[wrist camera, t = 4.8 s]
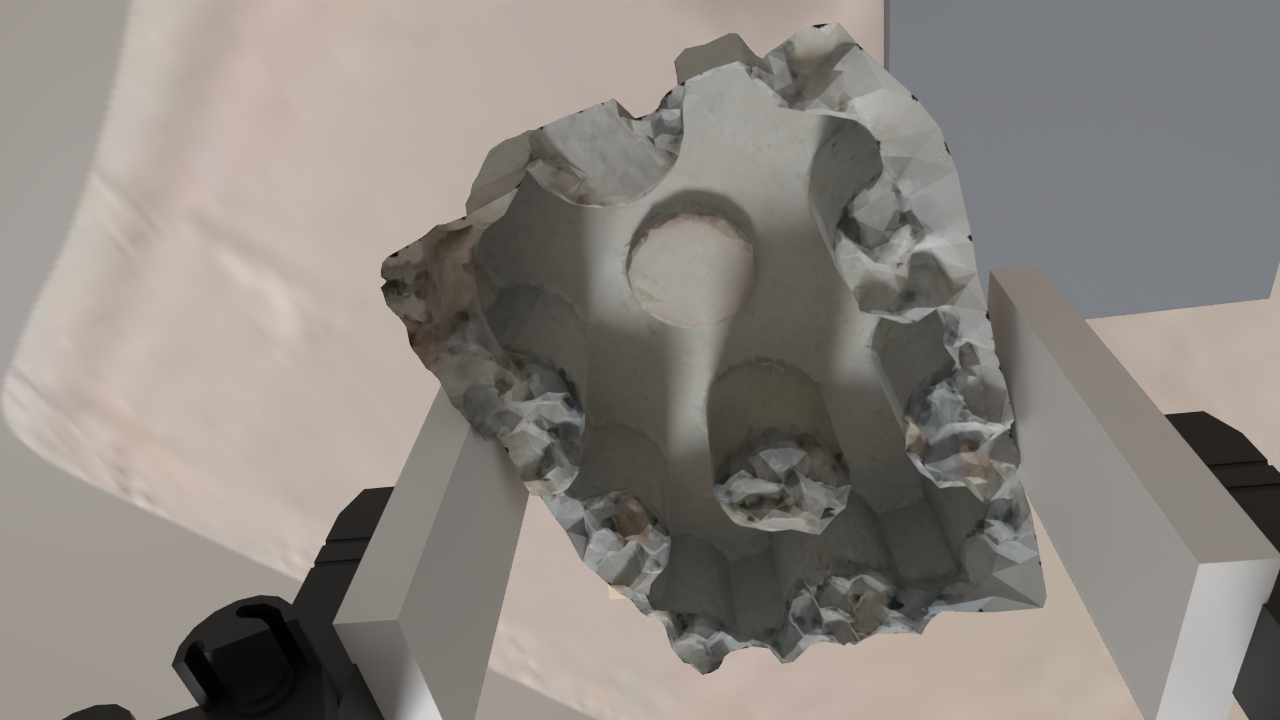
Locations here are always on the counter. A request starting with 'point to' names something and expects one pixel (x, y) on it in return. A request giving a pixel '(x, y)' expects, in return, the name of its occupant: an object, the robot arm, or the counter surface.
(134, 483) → the counter surface
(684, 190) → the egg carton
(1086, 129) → the mat
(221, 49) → the counter surface
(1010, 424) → the robot arm
